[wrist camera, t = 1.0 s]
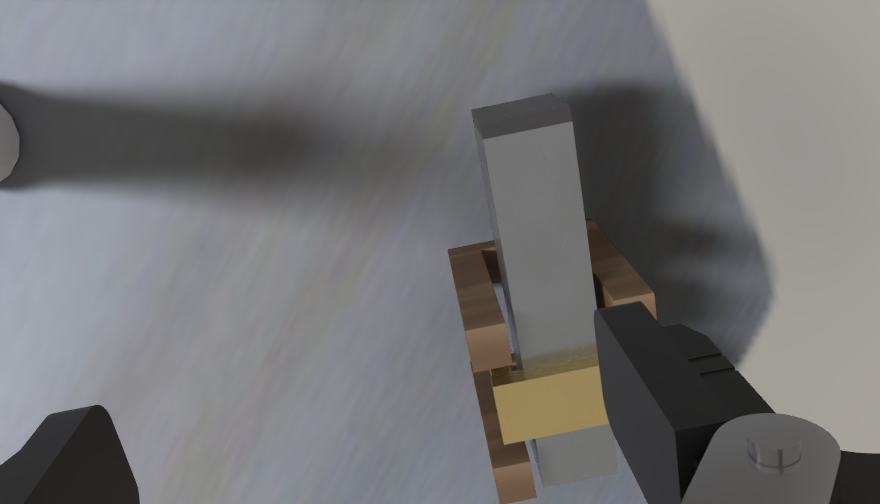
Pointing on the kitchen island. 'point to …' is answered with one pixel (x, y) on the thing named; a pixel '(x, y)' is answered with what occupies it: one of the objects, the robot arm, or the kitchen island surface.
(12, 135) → the pipe
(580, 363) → the spacer
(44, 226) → the kitchen island surface
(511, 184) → the shaft
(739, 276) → the kitchen island surface
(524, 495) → the brown wooden frame
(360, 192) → the kitchen island surface
